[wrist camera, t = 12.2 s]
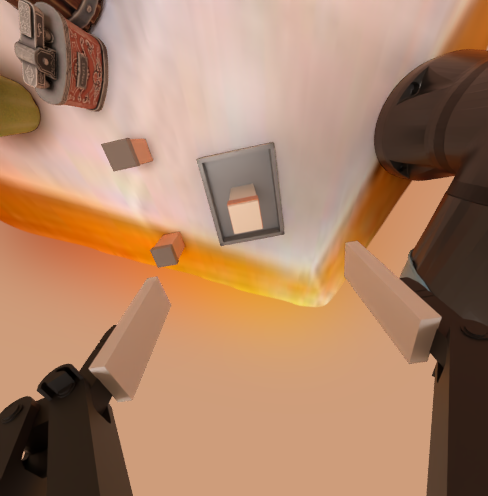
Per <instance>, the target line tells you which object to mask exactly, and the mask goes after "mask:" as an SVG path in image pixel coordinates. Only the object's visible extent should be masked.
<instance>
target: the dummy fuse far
mask: <svg viewBox="0 0 488 496" xmlns="http://www.w3.org/2000/svg"><path fill="white" fill-rule="evenodd" d="M184 247H185V245H184V243H183V240H182V237H181V234H180V232H176V233H170V234H165V235H163V236H162V237H161V239H160V240H159V241H158V243H157V244H156V245H155V247H153V248H152V249H151V250H150V251H151V253H152V255H153V258H154V260H155V262H156V264H157V266H158V268H159V267H164V266H170V265H175V264H177V263H178V261H179V260H178V259H179V257H180V255H181V253H182V251H183V249H184Z"/></svg>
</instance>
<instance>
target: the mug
mask: <svg viewBox="0 0 488 496" xmlns="http://www.w3.org/2000/svg"><path fill="white" fill-rule="evenodd" d="M6 1H7V2H9V3H10V4H11V5H12V6H13V7H14V8H16V9H17V10H19V8H18V2H19V0H6ZM26 1H28V2H30V3H31V4H33V5H34V4H35V3H36V2H44V3H47V4H49V5H50V6H52V7H53V8H55V9H56V10H58V11H59V12H60V13H61V14H62V15H63V17H64V18H66V19H67V20H69V21H70V22H72V23H73V24H75V25H76V26H78V27H79V28H81V29H82V30H84V31H86V30H88V29H89V27H90V25H91V24H94V23H95V21H96V19H97V17H98V15H99V12H100V9H101V4H100V2H101V0H26Z"/></svg>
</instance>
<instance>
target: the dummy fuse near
mask: <svg viewBox="0 0 488 496" xmlns="http://www.w3.org/2000/svg"><path fill="white" fill-rule="evenodd" d="M101 145H102V147H103V150H104V152H105V154H106V156H107V158H108V160H109V163H110V165H111V167H112V169H113V171H118V170H122V169H127V168H132V167H136V166H140V164H143V163H147V162H150V161H153V159H152V156H151V153H150V151H149V148H148V145H147V143H146V140H145V139H130V138H126V139H121V140H117V141H113V142H108V143H104V144H101Z"/></svg>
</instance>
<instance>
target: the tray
mask: <svg viewBox="0 0 488 496" xmlns="http://www.w3.org/2000/svg"><path fill="white" fill-rule="evenodd" d="M197 163H198V167H199V171H200V174H201V178H202V181H203V185H204V188H205V192H206V196H207V199H208V203H209V206H210V210H211V213H212V217H213V221H214V224H215V228H216V231H217V235H218V238H219V242H220V246H224V245H229V244H235V243H240V242H246V241H251V240H257V239H262V238H267V237H273V236H278V235H284V226H283V217H282V208H281V200H280V191H279V182H278V174H277V165H276V156H275V148H274V143H272V142H271V143H266V144H262V145H257V146H252V147H248V148H243V149H238V150H234V151H229V152H225V153H220V154H215V155H211V156H206V157H202V158H199V159H197ZM248 184H253V185H254V188H255V192H256V195H257V196H258V199H259V205H260V211H261V217H262V223H263V229H259V230H254V231H249V232H244V233H238V234H234V231H233V227H232V223H231V219H230V215H229V210H228V206H227V202H228V201H229V197H230V191H231V188H234V187H239V186H244V185H248Z"/></svg>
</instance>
